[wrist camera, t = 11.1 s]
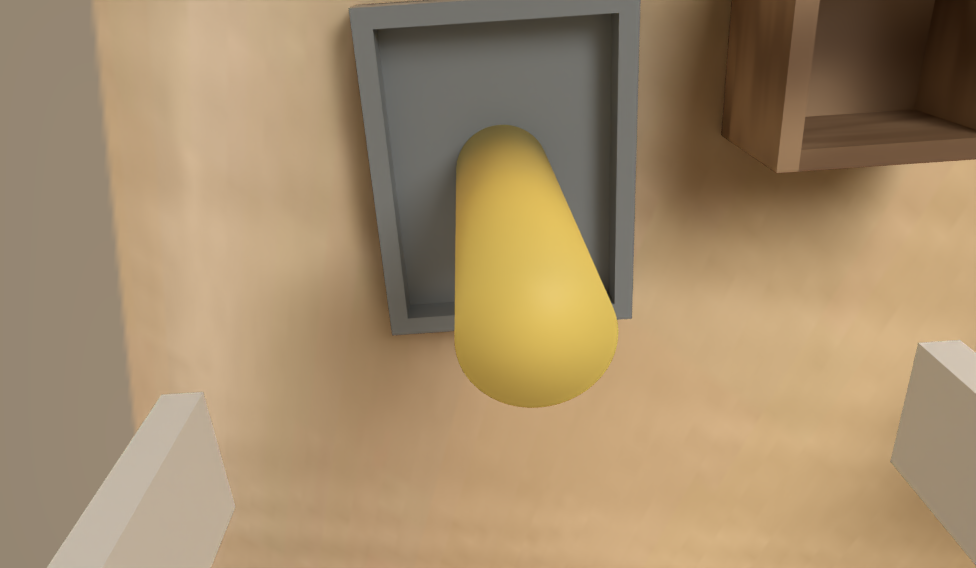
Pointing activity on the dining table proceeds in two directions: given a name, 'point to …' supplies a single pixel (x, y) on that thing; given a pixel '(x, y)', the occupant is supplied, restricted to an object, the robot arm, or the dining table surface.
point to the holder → (851, 82)
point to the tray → (487, 102)
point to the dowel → (524, 278)
